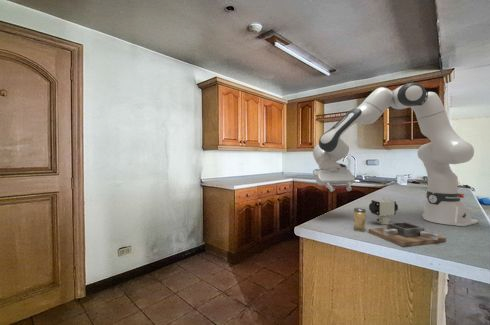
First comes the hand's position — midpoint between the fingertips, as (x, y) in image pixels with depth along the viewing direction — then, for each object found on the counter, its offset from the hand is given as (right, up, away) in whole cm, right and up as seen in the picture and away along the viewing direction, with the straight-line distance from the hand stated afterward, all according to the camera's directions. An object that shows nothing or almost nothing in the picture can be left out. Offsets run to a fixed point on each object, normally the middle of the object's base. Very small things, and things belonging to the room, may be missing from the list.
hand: (341, 190), depth 112 cm
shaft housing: (+17, -16, -21) cm, 31 cm away
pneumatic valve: (+18, -16, -3) cm, 24 cm away
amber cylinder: (+3, -16, -12) cm, 20 cm away
